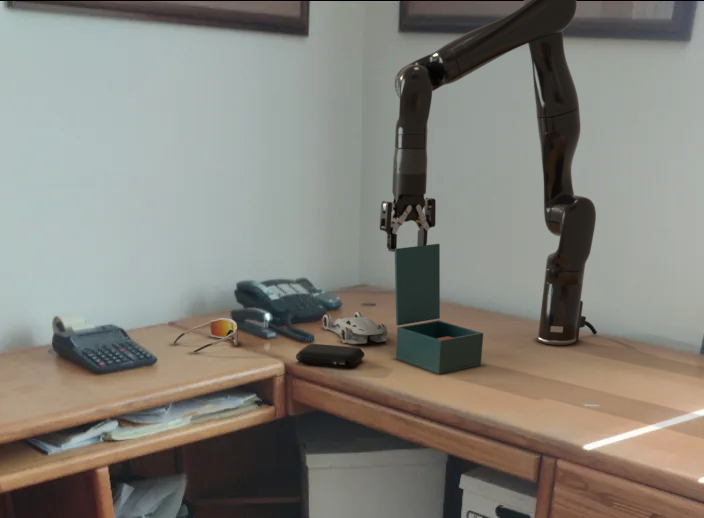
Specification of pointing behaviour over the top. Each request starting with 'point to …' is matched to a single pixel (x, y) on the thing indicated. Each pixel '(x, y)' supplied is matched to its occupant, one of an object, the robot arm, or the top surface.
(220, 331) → the sunglasses
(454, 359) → the lunch tin
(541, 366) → the top surface
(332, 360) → the carrying case
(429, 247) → the tin lid
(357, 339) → the car model
